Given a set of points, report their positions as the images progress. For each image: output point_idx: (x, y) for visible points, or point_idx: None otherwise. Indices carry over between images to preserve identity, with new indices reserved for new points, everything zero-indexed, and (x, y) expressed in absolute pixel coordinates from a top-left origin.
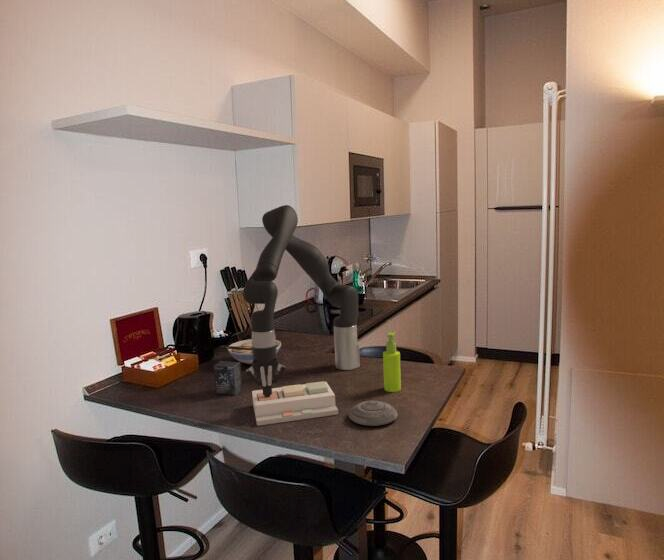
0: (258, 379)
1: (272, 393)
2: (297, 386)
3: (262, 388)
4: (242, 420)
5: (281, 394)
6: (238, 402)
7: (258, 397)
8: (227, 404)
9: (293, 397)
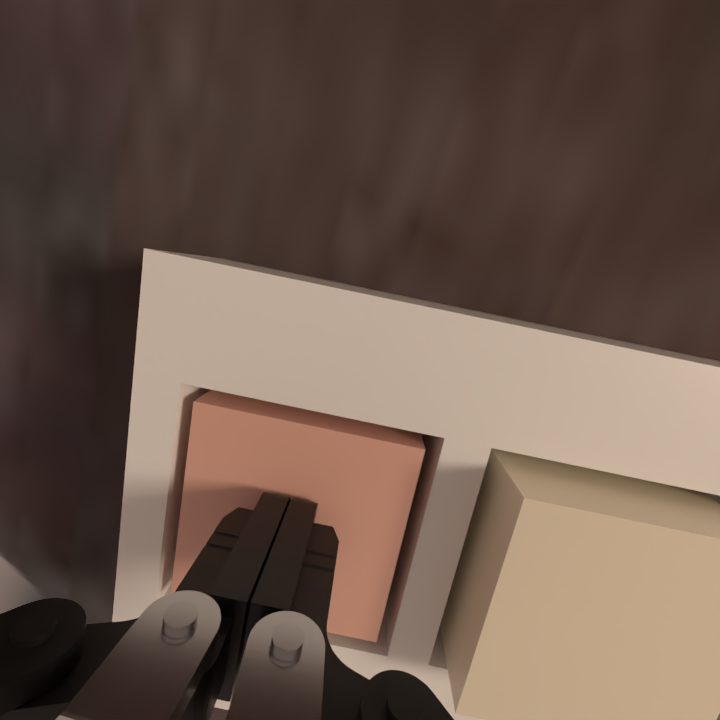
0: (4, 708)
1: (364, 482)
2: (716, 609)
3: (193, 570)
4: (96, 504)
5: (448, 564)
6: (108, 102)
7: (183, 500)
8: (2, 97)
9: None
